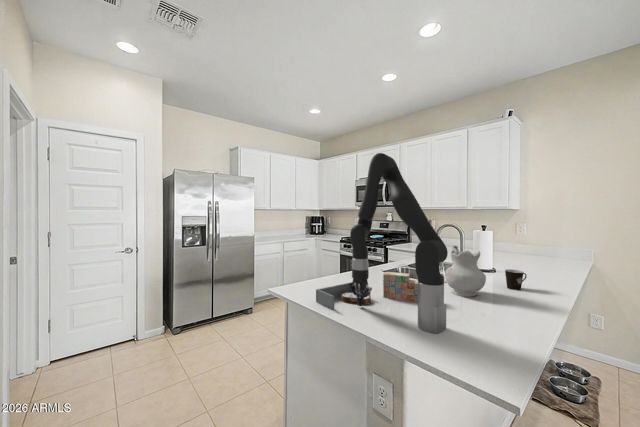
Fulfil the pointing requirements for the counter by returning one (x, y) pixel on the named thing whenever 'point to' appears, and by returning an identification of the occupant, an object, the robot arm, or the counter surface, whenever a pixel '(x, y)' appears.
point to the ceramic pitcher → (465, 273)
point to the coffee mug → (514, 279)
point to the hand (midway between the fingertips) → (360, 305)
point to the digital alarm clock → (354, 298)
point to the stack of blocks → (400, 287)
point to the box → (332, 294)
